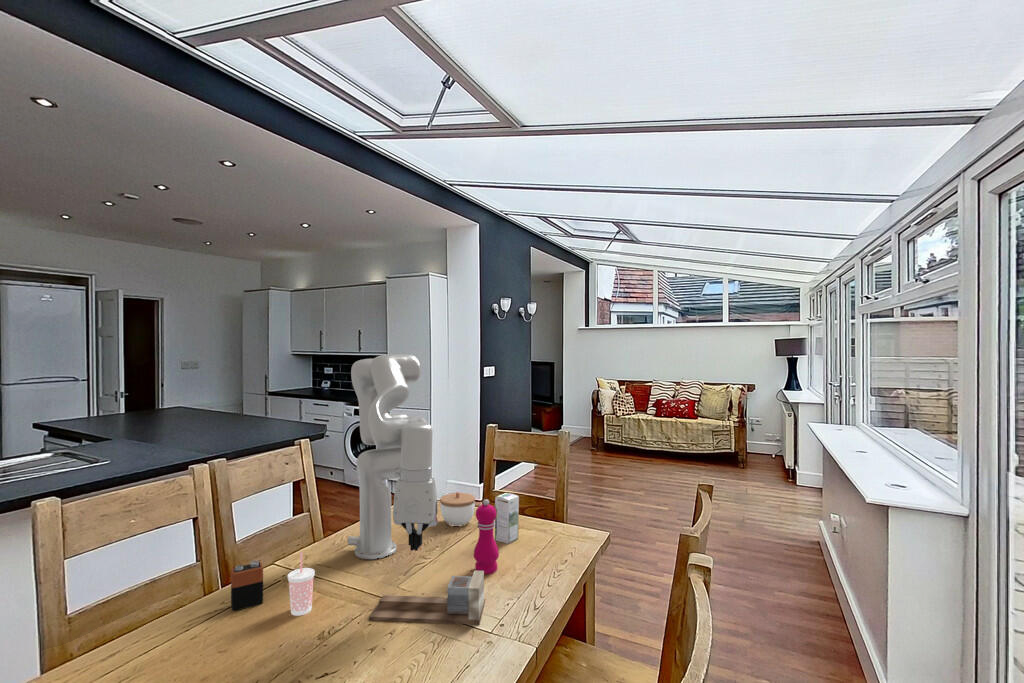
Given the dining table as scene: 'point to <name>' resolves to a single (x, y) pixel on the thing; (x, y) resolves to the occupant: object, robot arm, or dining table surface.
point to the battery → (246, 585)
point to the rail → (431, 607)
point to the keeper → (458, 595)
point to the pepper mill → (486, 539)
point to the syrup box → (506, 517)
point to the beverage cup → (301, 589)
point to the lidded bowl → (457, 508)
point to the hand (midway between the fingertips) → (415, 548)
